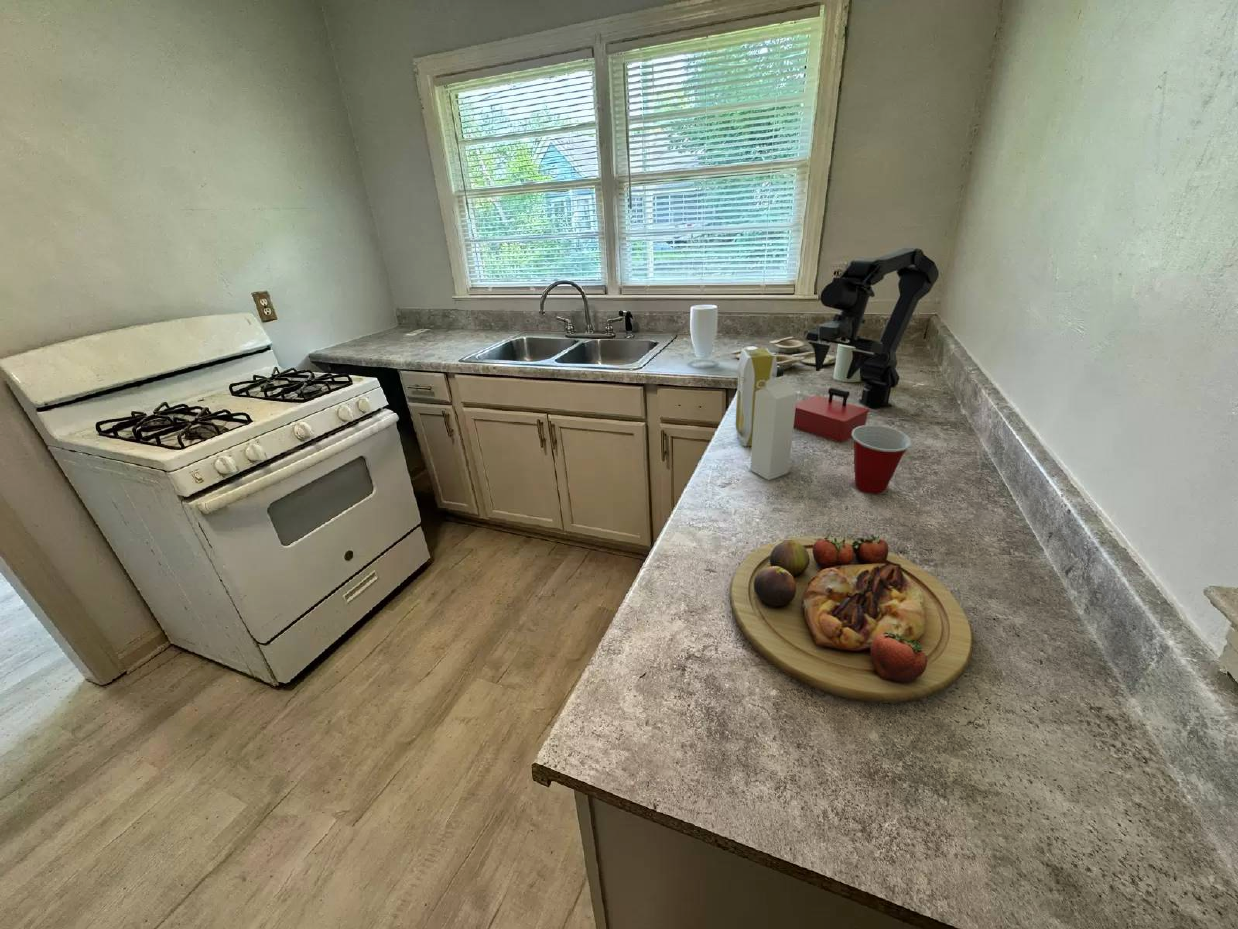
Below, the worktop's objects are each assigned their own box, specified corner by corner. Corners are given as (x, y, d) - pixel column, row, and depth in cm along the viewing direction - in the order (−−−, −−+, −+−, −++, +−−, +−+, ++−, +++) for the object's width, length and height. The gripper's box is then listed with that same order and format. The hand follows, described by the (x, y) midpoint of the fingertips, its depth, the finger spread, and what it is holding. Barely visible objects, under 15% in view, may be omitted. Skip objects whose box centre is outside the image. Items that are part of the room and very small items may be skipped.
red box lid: (815, 398, 137) (817, 381, 135) (869, 412, 126) (872, 394, 124) (789, 408, 132) (791, 391, 129) (843, 424, 120) (846, 406, 118)
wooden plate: (1022, 722, 56) (1046, 672, 52) (733, 694, 61) (736, 646, 57) (917, 550, 84) (928, 509, 80) (726, 541, 89) (728, 502, 85)
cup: (720, 362, 192) (722, 304, 182) (710, 369, 184) (711, 309, 174) (696, 359, 197) (696, 303, 187) (684, 366, 189) (684, 308, 179)
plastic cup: (876, 507, 96) (887, 451, 91) (831, 484, 105) (839, 432, 99) (912, 491, 100) (925, 437, 95) (866, 470, 109) (876, 420, 104)
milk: (788, 473, 110) (800, 378, 100) (768, 480, 108) (778, 384, 98) (768, 463, 115) (777, 371, 105) (749, 470, 113) (756, 376, 102)
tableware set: (725, 355, 200) (726, 345, 198) (784, 344, 209) (785, 334, 208) (783, 376, 171) (784, 365, 169) (848, 363, 180) (849, 352, 178)
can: (832, 381, 163) (837, 345, 158) (833, 373, 171) (838, 338, 166) (863, 383, 160) (869, 346, 155) (862, 374, 168) (868, 339, 162)
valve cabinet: (811, 415, 139) (813, 398, 137) (864, 430, 128) (867, 413, 126) (787, 425, 134) (789, 408, 132) (841, 442, 122) (843, 424, 120)
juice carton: (733, 433, 131) (737, 343, 120) (762, 432, 131) (769, 341, 120) (741, 448, 123) (746, 353, 112) (773, 446, 122) (781, 351, 112)
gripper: (800, 304, 125) (784, 365, 130) (868, 312, 111) (846, 381, 116) (827, 310, 132) (810, 368, 137) (893, 319, 117) (872, 383, 122)
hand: (832, 374), depth 128 cm, fingers open, 9 cm apart
